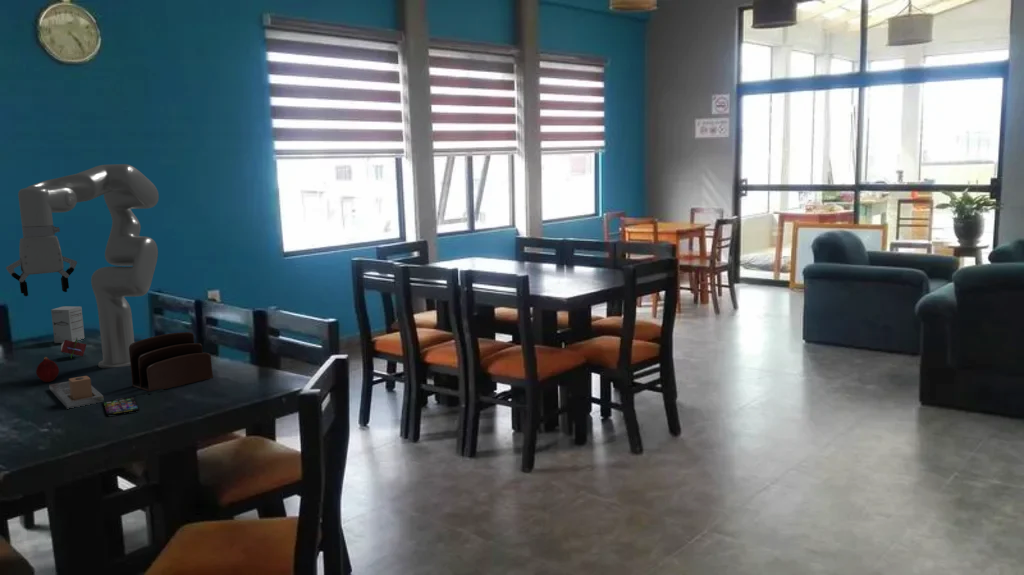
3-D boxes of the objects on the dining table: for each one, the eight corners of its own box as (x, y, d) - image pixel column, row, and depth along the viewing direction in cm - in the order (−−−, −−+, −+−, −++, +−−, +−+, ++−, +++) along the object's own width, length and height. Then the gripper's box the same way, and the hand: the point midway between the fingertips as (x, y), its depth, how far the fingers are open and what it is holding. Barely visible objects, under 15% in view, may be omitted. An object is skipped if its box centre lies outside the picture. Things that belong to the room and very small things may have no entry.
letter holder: (132, 388, 237) (127, 340, 235) (195, 373, 252) (191, 328, 250) (149, 394, 231) (144, 345, 229) (213, 378, 246) (209, 332, 244)
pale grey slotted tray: (84, 385, 241) (83, 378, 241) (104, 403, 222) (103, 395, 222) (50, 391, 236) (49, 384, 235) (67, 409, 217) (66, 402, 217)
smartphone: (134, 396, 226) (140, 409, 214) (134, 399, 227) (140, 413, 214) (102, 400, 223) (106, 415, 210) (103, 404, 223) (106, 418, 210)
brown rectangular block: (89, 396, 226) (87, 375, 225) (92, 400, 223) (90, 378, 222) (71, 400, 224) (68, 378, 223) (74, 403, 220) (71, 381, 219)
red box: (90, 347, 283) (73, 330, 279) (92, 350, 277) (74, 333, 273) (73, 361, 280) (55, 345, 277) (74, 365, 275) (56, 349, 271)
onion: (64, 381, 246) (61, 355, 245) (46, 386, 241) (43, 359, 240) (51, 379, 248) (48, 354, 247) (33, 384, 243) (30, 358, 242)
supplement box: (53, 343, 300) (49, 309, 298) (67, 339, 307) (64, 305, 305) (72, 343, 299) (68, 309, 297) (85, 339, 306) (82, 305, 304)
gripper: (70, 229, 236) (76, 288, 239) (0, 234, 226) (7, 295, 229) (75, 231, 231) (82, 291, 233) (4, 235, 220) (12, 299, 223)
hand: (45, 293), depth 231 cm, fingers open, 9 cm apart
